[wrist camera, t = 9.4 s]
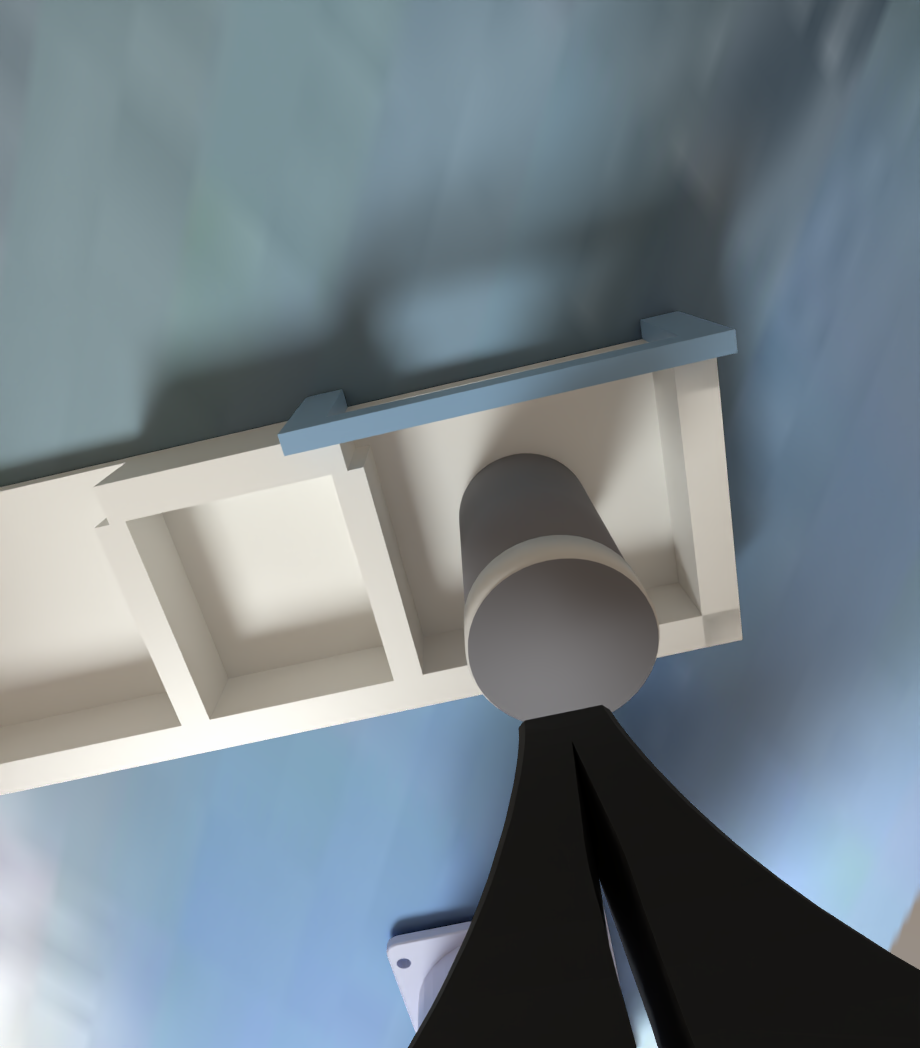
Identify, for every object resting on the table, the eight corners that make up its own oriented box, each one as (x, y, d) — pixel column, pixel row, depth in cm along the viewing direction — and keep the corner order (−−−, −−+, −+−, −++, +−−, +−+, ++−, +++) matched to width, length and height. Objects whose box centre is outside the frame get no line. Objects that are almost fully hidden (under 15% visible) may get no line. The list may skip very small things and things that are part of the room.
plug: (597, 563, 21) (669, 710, 14) (470, 586, 21) (484, 743, 15) (581, 439, 20) (652, 540, 13) (445, 466, 20) (447, 578, 13)
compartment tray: (708, 595, 22) (762, 666, 19) (-40, 754, 23) (-127, 850, 20) (678, 310, 19) (735, 329, 15) (-184, 511, 20) (-319, 571, 17)
